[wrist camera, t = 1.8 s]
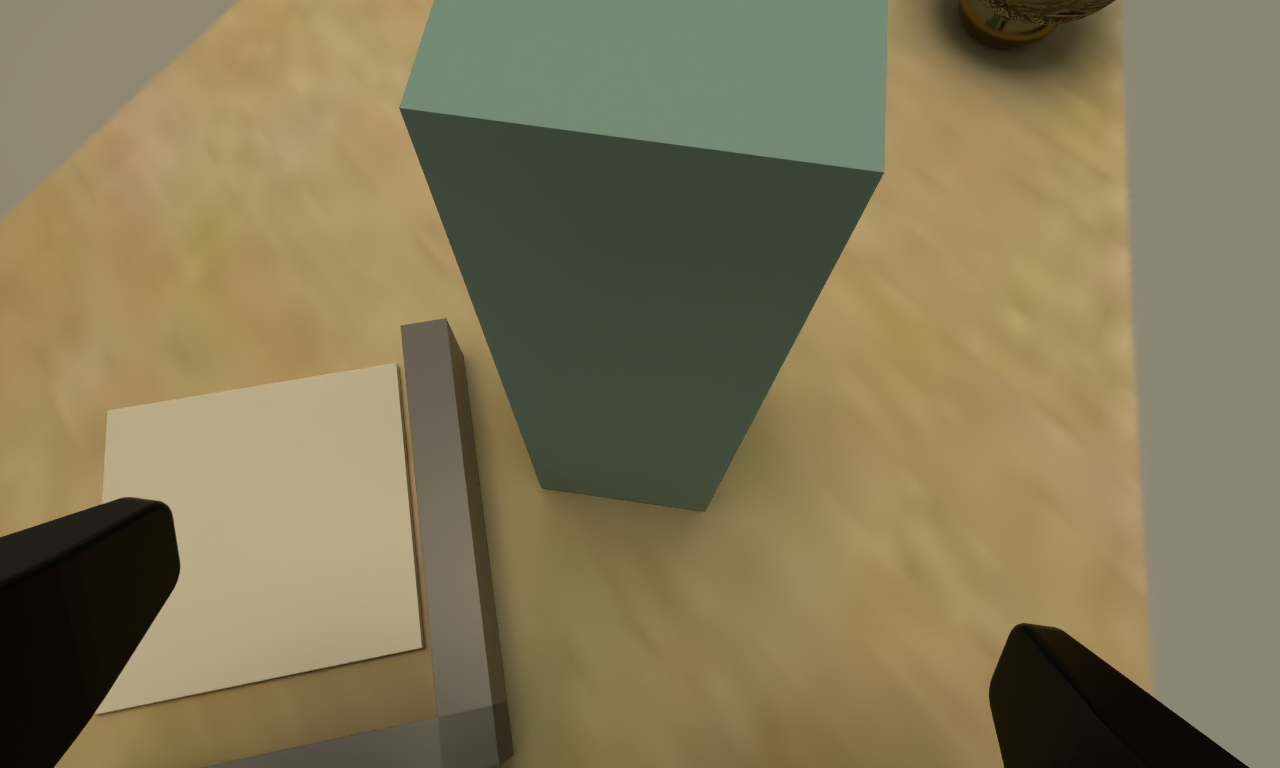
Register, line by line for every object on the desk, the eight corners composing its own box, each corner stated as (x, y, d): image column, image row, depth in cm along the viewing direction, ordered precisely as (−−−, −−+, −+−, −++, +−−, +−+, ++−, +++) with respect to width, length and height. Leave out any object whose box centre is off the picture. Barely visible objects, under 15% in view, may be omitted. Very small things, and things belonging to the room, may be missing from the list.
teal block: (704, 511, 21) (883, 172, 7) (541, 487, 21) (399, 108, 7) (721, 355, 23) (890, -163, 9) (570, 334, 23) (502, -211, 9)
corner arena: (513, 753, 19) (498, 764, 16) (90, 847, 18) (10, 873, 15) (463, 356, 22) (446, 318, 20) (114, 414, 21) (53, 381, 19)
